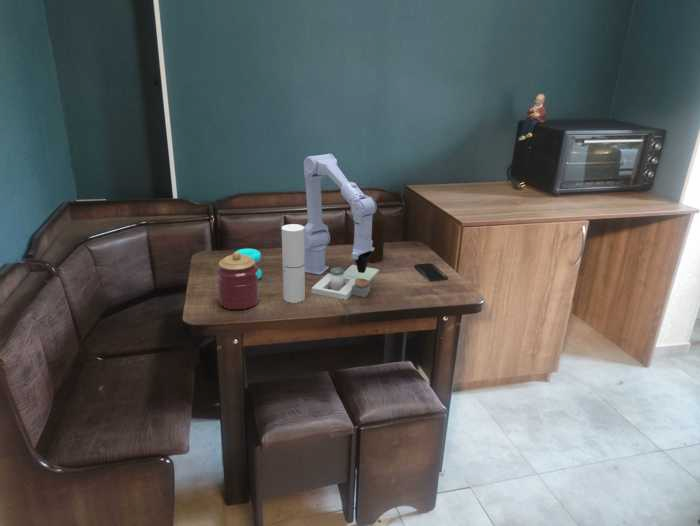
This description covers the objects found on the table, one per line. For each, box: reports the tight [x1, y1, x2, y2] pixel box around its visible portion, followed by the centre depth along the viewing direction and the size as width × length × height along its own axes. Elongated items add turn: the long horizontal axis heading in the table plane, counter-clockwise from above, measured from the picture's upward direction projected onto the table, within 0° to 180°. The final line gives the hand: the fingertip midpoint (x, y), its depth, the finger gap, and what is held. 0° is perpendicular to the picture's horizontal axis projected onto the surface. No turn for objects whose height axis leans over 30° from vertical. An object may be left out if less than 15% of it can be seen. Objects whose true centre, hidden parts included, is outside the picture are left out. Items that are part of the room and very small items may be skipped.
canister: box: [216, 251, 260, 310], centre depth 171 cm, size 13×13×18 cm
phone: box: [413, 262, 449, 283], centre depth 201 cm, size 8×1×15 cm
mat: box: [344, 264, 380, 284], centre depth 197 cm, size 11×11×1 cm
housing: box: [310, 272, 371, 301], centre depth 184 cm, size 18×14×3 cm
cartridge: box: [329, 266, 345, 291], centre depth 184 cm, size 5×5×7 cm
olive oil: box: [368, 196, 387, 264], centre depth 208 cm, size 11×11×25 cm
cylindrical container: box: [281, 223, 306, 304], centre depth 173 cm, size 7×7×25 cm
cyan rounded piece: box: [235, 248, 263, 280], centre depth 191 cm, size 10×10×10 cm
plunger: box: [355, 279, 369, 288], centre depth 182 cm, size 4×4×4 cm
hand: (361, 272), depth 180 cm, fingers closed
